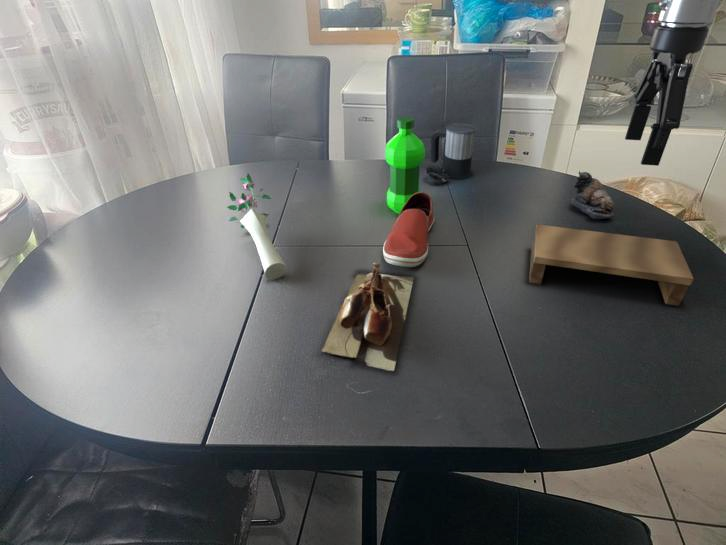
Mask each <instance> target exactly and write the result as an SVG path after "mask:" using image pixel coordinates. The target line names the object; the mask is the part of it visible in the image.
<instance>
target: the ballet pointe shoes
mask: <svg viewBox="0 0 726 545" xmlns="http://www.w3.org/2000/svg"><path fill="white" fill-rule="evenodd" d="M372 266H373V269H372V271H371V272H369V273H368V274H367V273H366V275H365V274H359V273H358V274H356V276H355V278H354V280H353V282H352V285H351V286H350V289H349V290H348V293H347V296H346V298H344V299H343V301H344V302H343V303H342V304H341V305H340V307H339V309H340V310H339V312H338V314H337V316H336V318H335V320H334V322H333V323H332V324H333V325H332V327H331V328H330V331H329V333H328V336H327V338H326V340H325V342H324V345H323V346H322V347H323V348H322V349H321V352H322V353H327V354H331V355H336V356H337V355H338V356H341V357H347V358H351V359H353V358H355V363H357V362H358V360H359V356H360V355H361V354H362V355H363V354H364V351H365V350H366V354H365V359H364V362H365V363H366V365H367V366H368V367H372V368H375V369H382V370H385V371H390V372H391V371H392V372H395V368H396V363H397V360H398V354H399V349H400V344H401V340H402V335H403V331H404V326H405V324H404V323H405V322H406V318H407V316H406V315H407V313H408V312H407V311H408V306H409V301H410V298H411V293H412V288H413V285H414V280H415V279H414V278H415V277H413V276H403V275H392V274H384V273H379V272H380V266H381V263H380V262H373V263H372ZM366 343H367V344H366ZM365 344H366V345H365Z"/></svg>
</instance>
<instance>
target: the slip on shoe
mask: <svg viewBox="0 0 726 545" xmlns="http://www.w3.org/2000/svg"><path fill="white" fill-rule="evenodd" d="M434 222H435V215H434V204H433V197H432V196H431V195H430V194H429V193H427V192H423V191H420V192H419V193H416V194H414V195H412V196H411V197H410V198H409V199H408V201H407V202H406V204H405V205H404V206H403V208H402V210H401V212H400V214H398V217H397V219H396V221H395V222H394V224H393V226H392V228H391V229H390V231H389V234H388V235H387V238H386V240H385V241H384V244H383V247H382V255H383V259H384V260H385V262H386V263H388V264H390V265H393V266H396V267H402V268H403V267H405V268H414V267H417V266H418V267H419V266H420V265H421V264H422V263H423V262H425V260H426V259H427V257H428V255H429V243H428V241H429V232H430V230H431V228H432V226H433V225H434Z"/></svg>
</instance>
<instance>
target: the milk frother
mask: <svg viewBox="0 0 726 545" xmlns="http://www.w3.org/2000/svg"><path fill="white" fill-rule="evenodd" d="M476 132H477V127H476V126H475V125H473V124H470V123H469V124H468V123H462V122H461V123H451V124H448V125H446V126H445V128H439V129H437V130H436V131H434V132H433V133H432V135H431V138H430V162H431V163H432V164H433V163H435V164H436V163H437V162H438V161H439V157H440V156H439V155H440V154H439V153H440V137H441V138H444V143H443V144H444V145H443V155H442V157H443V158H442V170H438V169H436V168H432V167H427V168H425V170H424V173H425V175H426V177H427V179H429V180H430V181H432V182H433V183H436V185H444V184H446V183H448V179H449V178H450V179H465V178H469V177H470V176H471V175H472V171H471V170H472V158H473V151H474V144H475V136H476Z"/></svg>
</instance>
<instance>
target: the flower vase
mask: <svg viewBox="0 0 726 545" xmlns="http://www.w3.org/2000/svg"><path fill="white" fill-rule="evenodd" d="M238 179H239V180H240V181H241V183H242V185H241V186H242V187H243V189H244V190H246V191H249V192H250V191H251V193H252V195H253V196H252V195H251V196H250V194H245V193H244V192H241V195H240V197H239V199H238V200H237V197H236V196H235V194H234V193H233V192H231V191H228V196H229V198H230V200H231V201H232V202H236V203H237V205H236V204H232V205H231V204H230V205H227V206H226V208H227V209H228V210H231V211H237V212H240V211H241V212H242V213H243V212H244V213H245V215H244V216H243V217H242V218H241V219H240V218H238V217H237V216H232V217H230V218H228V220H227V222H233V221H238V220H239V222H240V223H241V224H240V228H241V229H244V228H245V229H246V230H247V232H248V233H249V235H250V236H251V238H252V239H253V242H254V244H255V246H256V250H257V253H258V256H259V259H260V262H261V265H262V269H263V272H264V276H265V277H266V278H267V279H269V280H277V279H281V277H282V276H284V275H285V273H286V271H287V267H286V264H285V263H284V261H283V259H282V258H281V256H280V255H279V253H278V252H277V250H276V248H275V246H274V244H273V243H272V240H271V239H270V237H269V234H268V230H267V229H268V228H267V222H266V221H267V220H266V217H267V216H269V213H265V212H264V213H260V212H259V211H257V210H255V209H254V208H258V204H257V203H258V202H257V201H255V200H256V197H255V193H254V191H253V189H254V188H255V183H254V181H253V180H252V177H251V175H250V173H249V172H247V173H246V177H245V178H243V177H240V178H238ZM263 190H264V188H260V189H259V191H258V195H257V197H259V198H261V199H265V200H271V199H272V198H271V197H270V195H268V194H262V196H260V195H261V193H260V192H262V191H263Z"/></svg>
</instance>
